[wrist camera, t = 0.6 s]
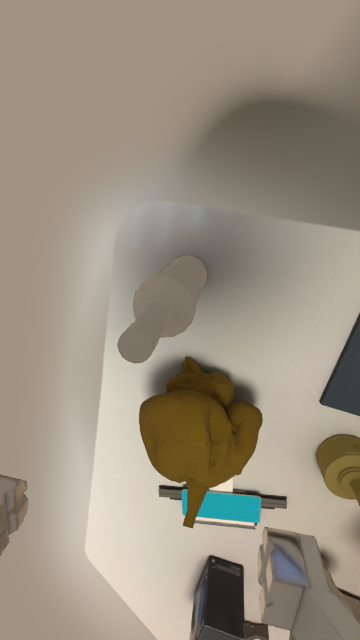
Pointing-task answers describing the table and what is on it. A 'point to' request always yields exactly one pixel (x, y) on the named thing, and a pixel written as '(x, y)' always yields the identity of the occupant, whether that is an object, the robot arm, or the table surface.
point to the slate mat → (346, 377)
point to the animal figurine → (256, 632)
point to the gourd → (198, 432)
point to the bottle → (163, 307)
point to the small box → (219, 603)
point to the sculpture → (341, 465)
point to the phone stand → (227, 505)
